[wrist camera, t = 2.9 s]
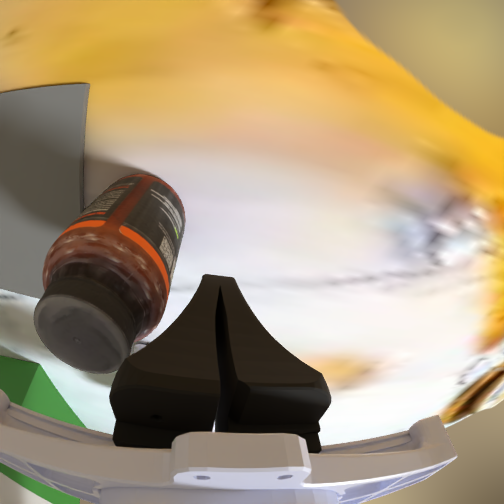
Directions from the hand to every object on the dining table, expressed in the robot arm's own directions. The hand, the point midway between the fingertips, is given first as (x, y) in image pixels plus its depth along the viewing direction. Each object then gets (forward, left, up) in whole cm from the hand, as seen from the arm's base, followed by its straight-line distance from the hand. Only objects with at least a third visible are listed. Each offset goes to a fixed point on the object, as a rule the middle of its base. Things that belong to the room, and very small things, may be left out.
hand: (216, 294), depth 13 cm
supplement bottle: (0, +5, -8) cm, 9 cm away
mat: (0, +17, -7) cm, 19 cm away
